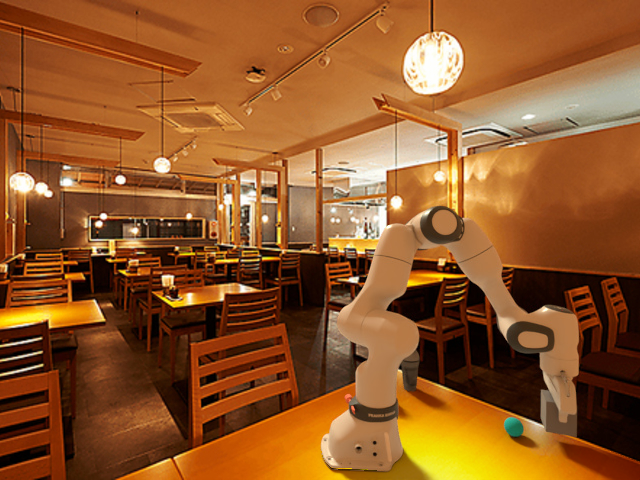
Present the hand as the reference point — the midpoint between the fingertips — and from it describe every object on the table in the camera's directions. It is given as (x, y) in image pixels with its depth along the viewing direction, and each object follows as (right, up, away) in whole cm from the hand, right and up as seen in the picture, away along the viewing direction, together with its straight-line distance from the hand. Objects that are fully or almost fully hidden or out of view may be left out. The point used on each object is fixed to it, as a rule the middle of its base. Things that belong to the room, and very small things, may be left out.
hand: (558, 412), depth 97 cm
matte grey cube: (0, -4, 0) cm, 4 cm away
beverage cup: (-33, -8, +34) cm, 48 cm away
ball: (-10, -6, +4) cm, 13 cm away
